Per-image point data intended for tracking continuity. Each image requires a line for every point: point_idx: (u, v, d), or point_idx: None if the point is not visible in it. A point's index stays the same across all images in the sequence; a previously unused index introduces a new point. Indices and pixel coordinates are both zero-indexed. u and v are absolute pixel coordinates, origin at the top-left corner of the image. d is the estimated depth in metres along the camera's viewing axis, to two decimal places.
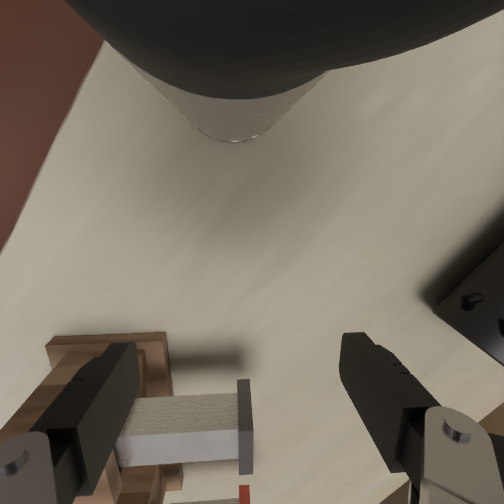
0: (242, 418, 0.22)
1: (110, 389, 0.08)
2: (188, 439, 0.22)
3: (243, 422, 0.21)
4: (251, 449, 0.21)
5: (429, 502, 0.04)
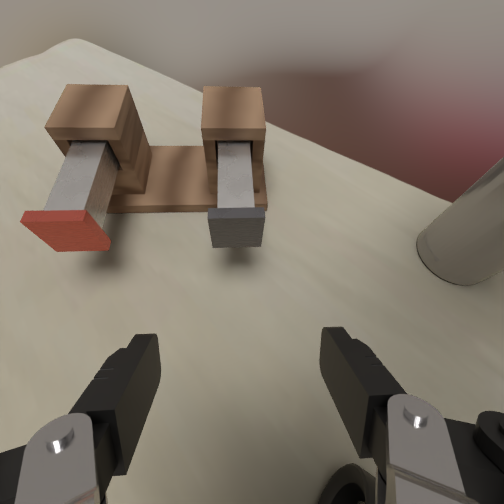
0: None
1: (138, 378, 0.08)
2: (244, 180, 0.27)
3: None
4: (241, 216, 0.24)
5: (396, 491, 0.04)
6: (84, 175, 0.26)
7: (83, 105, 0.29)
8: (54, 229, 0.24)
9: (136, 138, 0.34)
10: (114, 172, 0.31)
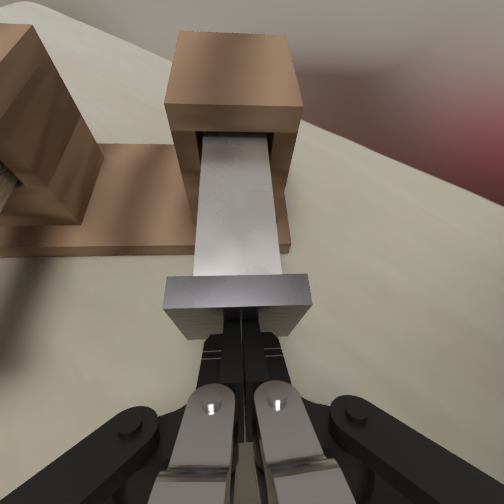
0: None
1: None
2: (256, 202, 0.12)
3: None
4: (252, 302, 0.09)
5: (277, 495, 0.04)
6: None
7: None
8: None
9: (58, 128, 0.18)
10: (0, 192, 0.16)
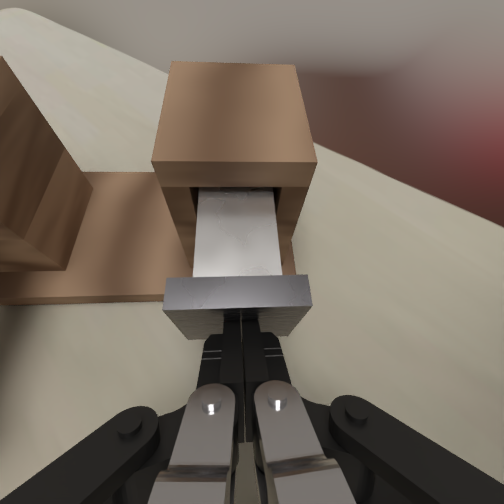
0: None
1: None
2: (256, 202, 0.12)
3: None
4: (252, 303, 0.09)
5: (277, 495, 0.04)
6: None
7: None
8: None
9: (36, 169, 0.16)
10: None
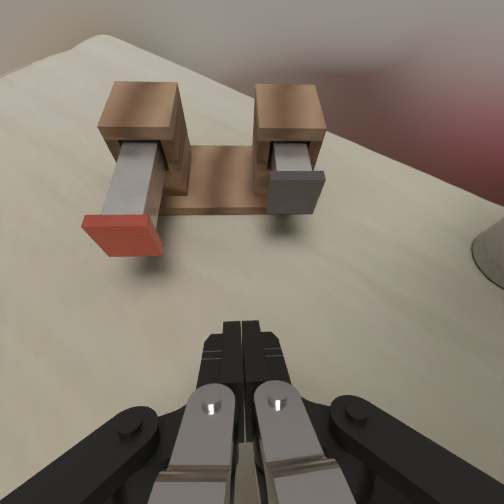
0: None
1: None
2: (299, 148, 0.28)
3: None
4: (303, 178, 0.25)
5: (277, 494, 0.04)
6: (139, 177, 0.25)
7: (134, 103, 0.28)
8: (114, 234, 0.22)
9: (182, 138, 0.32)
10: (163, 173, 0.30)
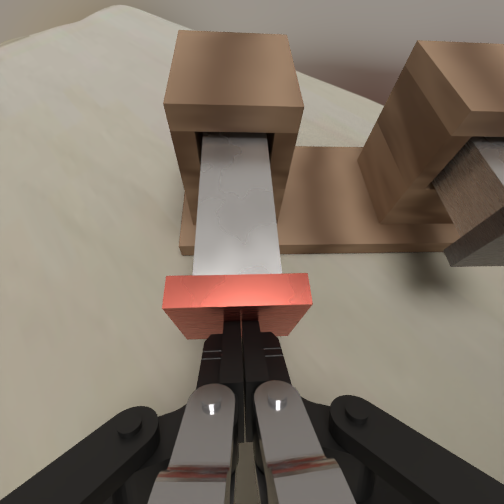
0: None
1: None
2: None
3: None
4: None
5: (277, 495, 0.04)
6: (251, 187, 0.13)
7: (222, 64, 0.15)
8: (225, 316, 0.10)
9: None
10: None
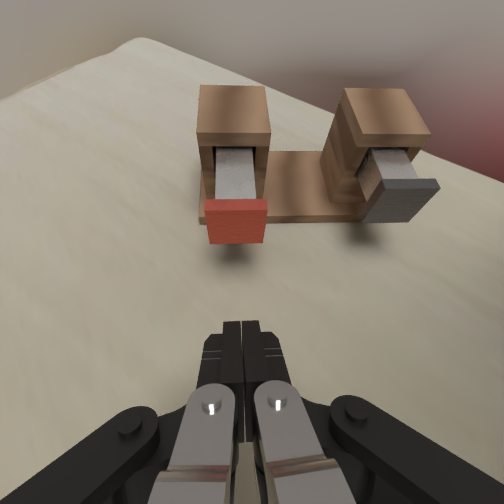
0: None
1: None
2: (398, 155, 0.27)
3: None
4: (417, 187, 0.24)
5: (277, 495, 0.04)
6: (242, 164, 0.25)
7: (226, 107, 0.26)
8: (230, 219, 0.22)
9: None
10: None
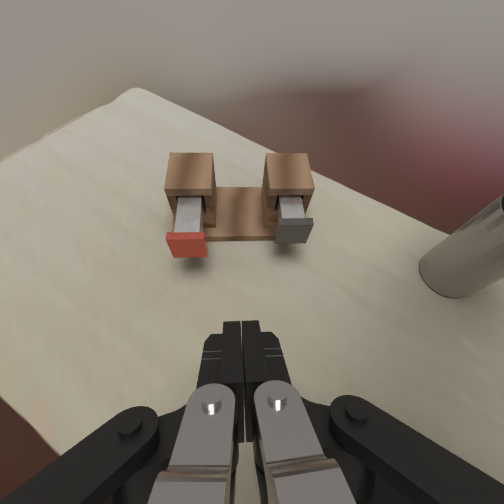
0: None
1: None
2: (296, 200, 0.42)
3: None
4: (299, 223, 0.38)
5: (277, 495, 0.04)
6: (193, 207, 0.40)
7: (185, 170, 0.41)
8: (182, 244, 0.37)
9: (214, 188, 0.46)
10: (203, 202, 0.44)
